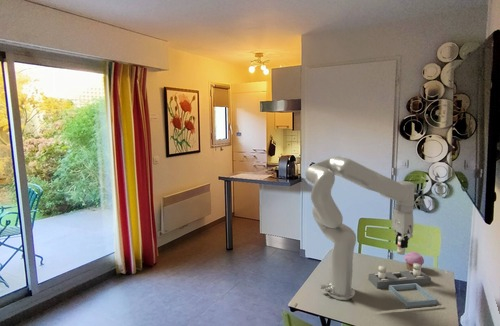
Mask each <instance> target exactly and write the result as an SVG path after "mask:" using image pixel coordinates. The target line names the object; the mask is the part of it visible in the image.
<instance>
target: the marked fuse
mask: <svg viewBox="0 0 500 326" xmlns="http://www.w3.org/2000/svg"><path fill="white" fill-rule="evenodd" d="M401 239H402V236H398V245H397V248H396V254H397V255H402V256H403V255H406V248H401Z"/></svg>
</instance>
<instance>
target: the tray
mask: <svg viewBox="0 0 500 326" xmlns="http://www.w3.org/2000/svg"><path fill="white" fill-rule="evenodd" d="M411 289H412V290H414V289H416V290H417V291H418V292H419V293H421V294H422V295H423V296H425V297H426V298H427V299H426V298H425V299H415V300H408V299H407V298H406V297H405V296H404V295H402V294H401V293H400V292H399V290H411ZM388 291H390V292H391V293H392V294H393V295H394V296H395V297H396V298H397V299H398V300H400V301H401V302H402V304H404V305H405V307H406V309H407V310H409V309H411V310H412V309H419V308H430V307H431V308H433V307H437V304H438V299H437V298H436V297H435V296H433V294H431V293H430V292H428V291H427V290H426V289H424V288H423V287H422V285H418V284H417V283H412V284H400V285H389V287H388Z"/></svg>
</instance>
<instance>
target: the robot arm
mask: <svg viewBox="0 0 500 326" xmlns="http://www.w3.org/2000/svg"><path fill="white" fill-rule="evenodd" d="M304 175H305V179H306V180H307V181H308V182H309V183H310V184H312V185H313V186H312V189H311V191H310V192H311V193H310V200H311V203H312V204H313V208H312V217H313V219H314V220H315V223H316V224H317V226H318V227H319V229H320V231H321V232H322V234H324V236H325V238H327V239H328V240H329V241H331V242H332V243H333V248H332V249H331V253H330V272H329V274H330V275H329V277H330V278H329V280H328V281H327V283H326V284H319V290H324V292H326V294H328V295H329V297H331V298H334V299H336V300H339V301H349V300H351V299H352V298H354V296H355V295H356V290H355V289H354V288H353V271H354V270H353V269H354V268H353V267H354V252H355V247H356V244H357V243H356V242H357V235H356V232H355V231H354V230H353V229H352V228H351V227H350V226H348V225H346V224H345V223H343V221H344V219H343V214H342V211H341V210H340V209H339V207H338V205H337V204H336V202H335V200H334V198H333V197H332V190H333V187H334V184H335V181H336V177H335V176H338V177H340V178H343V179H345V180H347V181H349V182H351V183H353V184H355V185H357V186H360V187H361V188H364V189H366V190H368V191H373V192H376V193H377V194H378V193H379V195H380V196H382V197H384V198H387V199H389V200H392V201H395V202H394V203H395V205H394V210H393V212H392V220H391V228H392V229H393V230H394V233H395V245H397V246H398V236H402V239H401V248H405V249H406V248H407V249H408V246H409V240H410V239H411V238H412V239H413V237H414V236H413V233H414V213H413V212H414V204H415V203H414V202H415V201H414V200H415V189H416V187H415V183H414V182H412V181H408V180H406V181H405V180H400V181H396V180H394V179H392V178H390V177H388V176H386V175H383V174H382V173H379V172H377V171H375V170H373V169H371V168H369V167H366V166H364V165H362V164H361V163H359V162H357V161H355V160H352V159H350V158H348V157H347V158H346V157H341V156H333V157H330V158H327V159H324V160H322V161H319V162H316V163H313V164H311V165H309V166H308V167H307V168H306V170H305V173H304Z"/></svg>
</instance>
